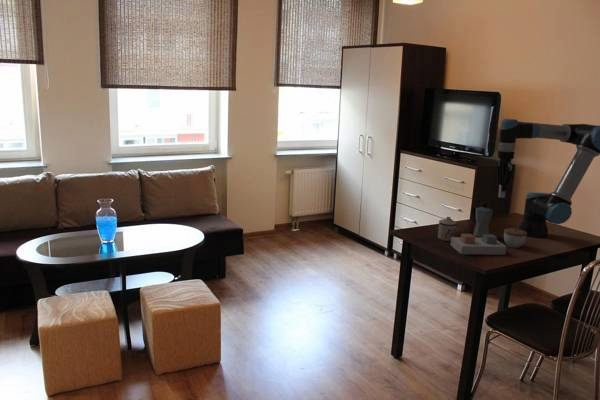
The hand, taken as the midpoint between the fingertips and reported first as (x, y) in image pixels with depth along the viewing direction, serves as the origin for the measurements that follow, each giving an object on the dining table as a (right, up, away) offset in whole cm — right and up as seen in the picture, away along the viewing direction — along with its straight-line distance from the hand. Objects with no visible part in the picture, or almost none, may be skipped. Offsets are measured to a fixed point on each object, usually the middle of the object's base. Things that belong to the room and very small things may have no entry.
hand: (501, 197), depth 265 cm
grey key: (-9, -23, -8) cm, 26 cm away
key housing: (-15, -26, -8) cm, 31 cm away
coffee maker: (-5, -20, +18) cm, 27 cm away
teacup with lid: (-24, -22, +9) cm, 34 cm away
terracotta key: (-20, -23, -9) cm, 32 cm away
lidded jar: (+6, -25, +1) cm, 26 cm away
